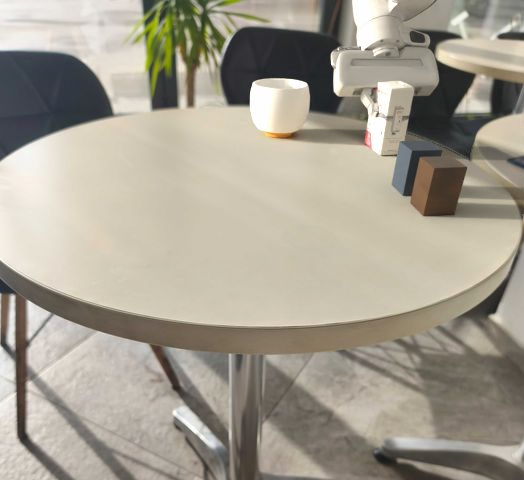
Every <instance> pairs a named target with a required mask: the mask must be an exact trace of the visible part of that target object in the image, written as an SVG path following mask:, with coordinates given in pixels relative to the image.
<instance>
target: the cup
mask: <svg viewBox="0 0 524 480" xmlns="http://www.w3.org/2000/svg"><path fill="white" fill-rule="evenodd" d="M249 93H250V94H249V108H250V114H251V118H252V121H253V124H254V125H255V126H256V128H257V129H258V130H260V131H262V132H263V133H264V134H265V136H267V137H269V138H276V139H283V138H289V137H291V136H292V135H293V133H295V132H298V131H299V130H300V129H301V128H302V127H303V126H304V125H305V123H306V121H307V118H308V115H309V112H310V106H311V105H310V103H311V94H310V87H309V85H308V83H307V82H305V81H302V80H299V79H293V78H279V77H278V78H276V77H275V78H274V77H273V78H272V77H271V78H262V79H257V80H254V81H253V82H252V85H251V88H250V92H249Z"/></svg>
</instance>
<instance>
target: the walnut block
mask: <svg viewBox="0 0 524 480" xmlns="http://www.w3.org/2000/svg"><path fill="white" fill-rule="evenodd" d="M467 171H468V166H466V165H465V164H464V163H462V162H461V161H459V160H458V159H456V158H455V157H453V156H451V155H446V156H445V155H444V156H442V155H441V156H438V157H420V159H419V164H418V169H417V173H416V178H415V182H414V187H413V192H412V195H410V196H411V197H410V201H409V203H410V205H411V206H412V207H413V208H414V209H415V210H416V211H417V212H419V213H420V214H421V215H422V216H423V217H425V216H426V217H427V216H428V217H429V216H450V215H451V216H452V215H455V214H456V210H457V207H458V203H459V200H460V196H461V192H462V188H463V186H464V182H465V179H466V174H467Z"/></svg>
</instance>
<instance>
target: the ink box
mask: <svg viewBox="0 0 524 480" xmlns="http://www.w3.org/2000/svg"><path fill="white" fill-rule="evenodd" d="M413 94H414V87H413V86H411V85H409V84H407V83H405V82H403V81H388V82H378V86H377V88H374V89H373V92H372V96H371V99H372V100H373V102H374V103H378V108H379V113H378V114H377V116H369V115H368V117H367V118H368V119H367V124H366V130H365V135H364V137H365V138H364V145H366V146H367V147H369V148H370V149H371V150H373V151H374V152H375V153H377V154H378V155H379V156H394V155H395V156H397V153H398V148H399V143H400V141H406V135H407V131H408V124H409V121H410V114H411V111H410V109H411V110H412V104H413V99H414V96H413Z"/></svg>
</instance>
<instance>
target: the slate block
mask: <svg viewBox="0 0 524 480" xmlns="http://www.w3.org/2000/svg"><path fill="white" fill-rule="evenodd" d="M442 155H443V149H442V148H440V147H439V146H437V145H436V144H434V143H433V142H432V141H431V140H405V141H400V143H399V148H398V153H397V154H396V159H395V164H394V169H393V174H392V175H393V176H392V180H391V186H392V187H393V188H395V190H396V191H398V193H399V194H400V195H401V196H403V197H404V196H412V192H413V187H414V182H415V178H416V173H417V169H418V164H419V159H420V157H438V156H442Z"/></svg>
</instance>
